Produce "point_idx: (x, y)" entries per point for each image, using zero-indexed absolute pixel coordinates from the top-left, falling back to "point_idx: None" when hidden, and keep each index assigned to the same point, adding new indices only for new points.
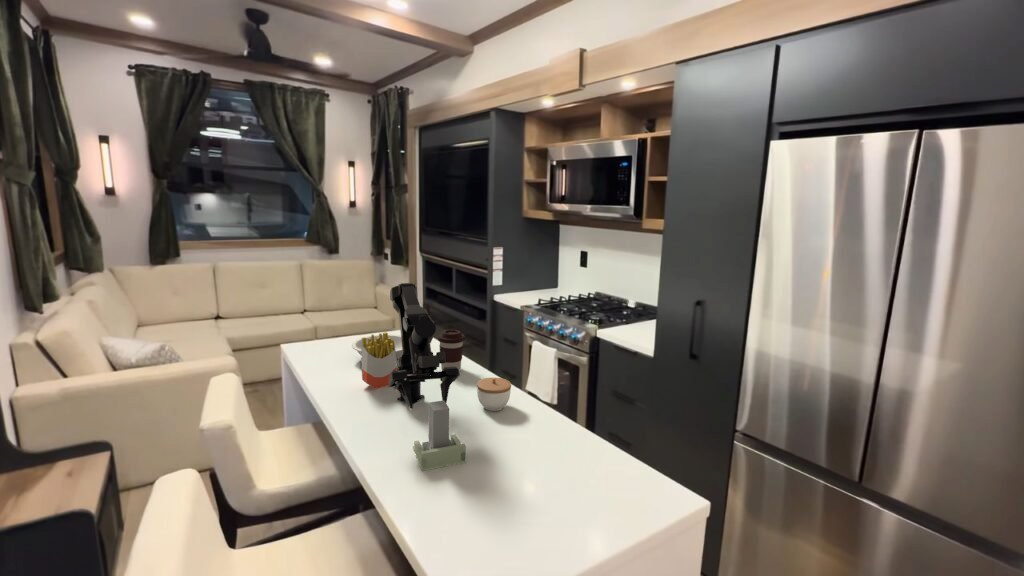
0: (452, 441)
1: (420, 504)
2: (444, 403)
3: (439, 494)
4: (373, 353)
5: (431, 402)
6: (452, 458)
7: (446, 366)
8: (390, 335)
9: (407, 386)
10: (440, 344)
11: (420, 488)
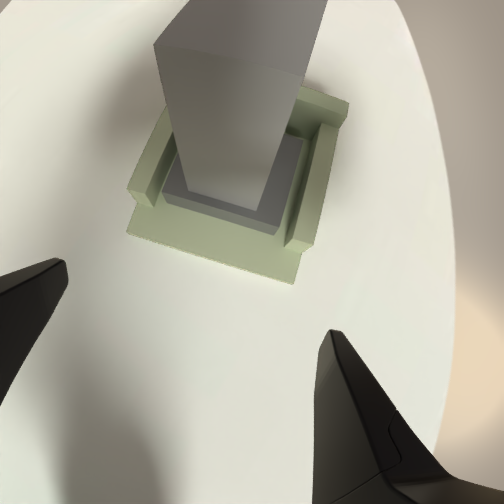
0: (158, 178)
1: (374, 56)
2: (194, 10)
3: (327, 49)
4: None
5: (280, 63)
6: None
7: None
8: None
9: (416, 487)
10: None
11: (358, 87)
